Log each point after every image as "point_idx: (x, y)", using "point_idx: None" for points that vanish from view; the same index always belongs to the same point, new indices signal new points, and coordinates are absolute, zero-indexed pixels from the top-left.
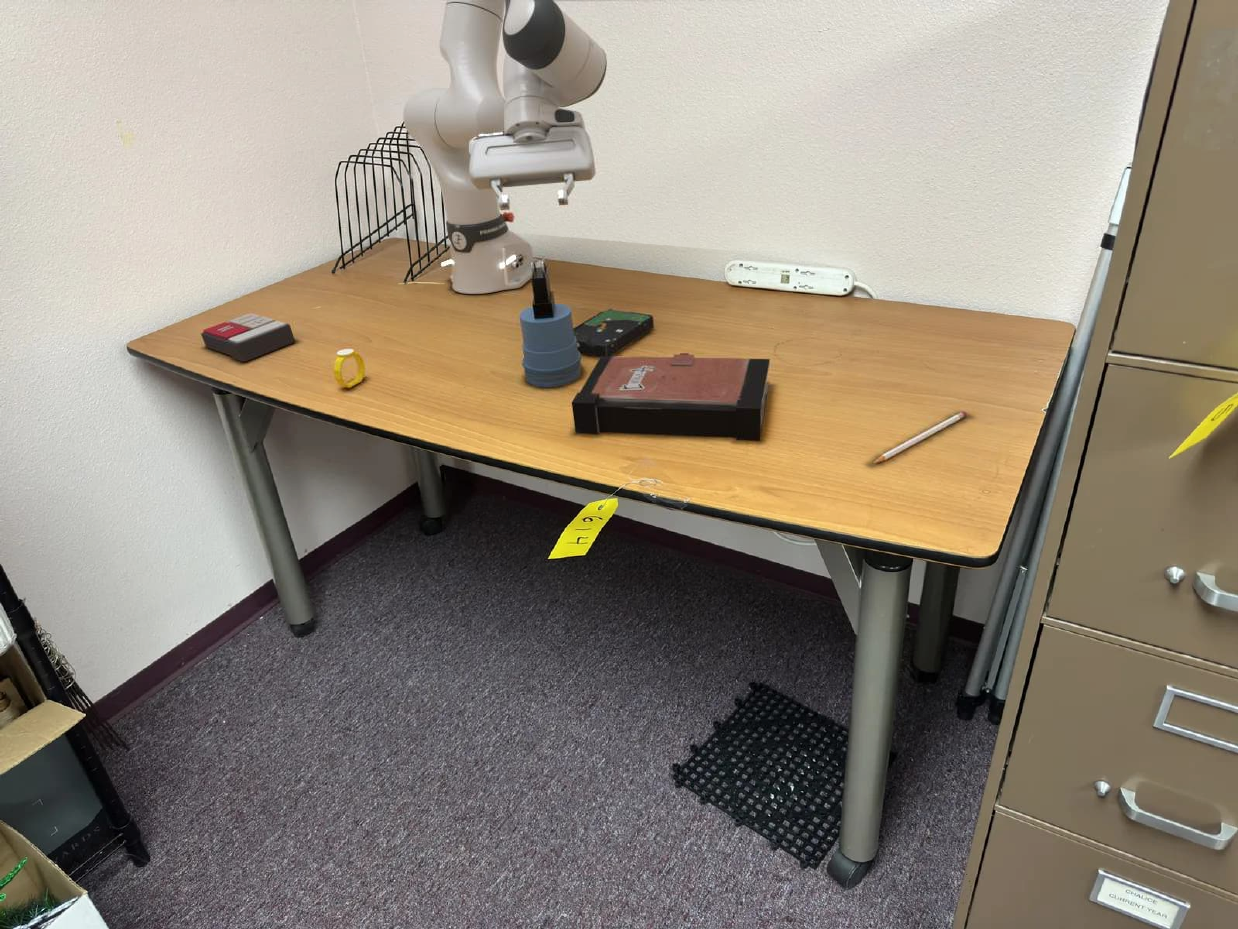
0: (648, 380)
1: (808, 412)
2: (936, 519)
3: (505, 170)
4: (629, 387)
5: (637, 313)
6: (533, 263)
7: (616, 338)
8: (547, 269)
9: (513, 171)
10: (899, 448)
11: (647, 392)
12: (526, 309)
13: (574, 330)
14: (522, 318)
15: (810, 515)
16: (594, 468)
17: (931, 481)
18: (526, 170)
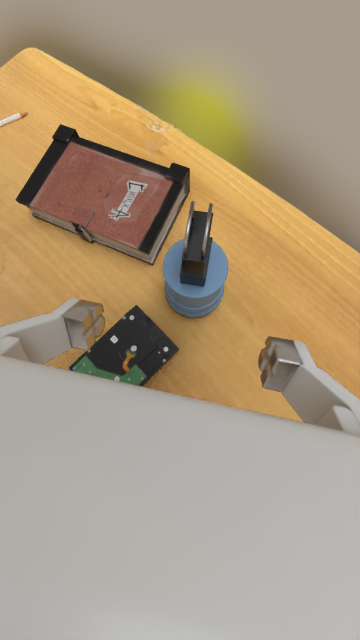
0: (120, 193)
1: (29, 175)
2: (30, 69)
3: (336, 456)
4: (138, 186)
5: None
6: (205, 249)
7: (122, 319)
8: (182, 254)
9: (272, 430)
10: (6, 118)
11: (127, 173)
12: (217, 285)
13: (159, 364)
14: (224, 256)
15: (83, 83)
16: (184, 147)
17: (12, 95)
18: (182, 409)
